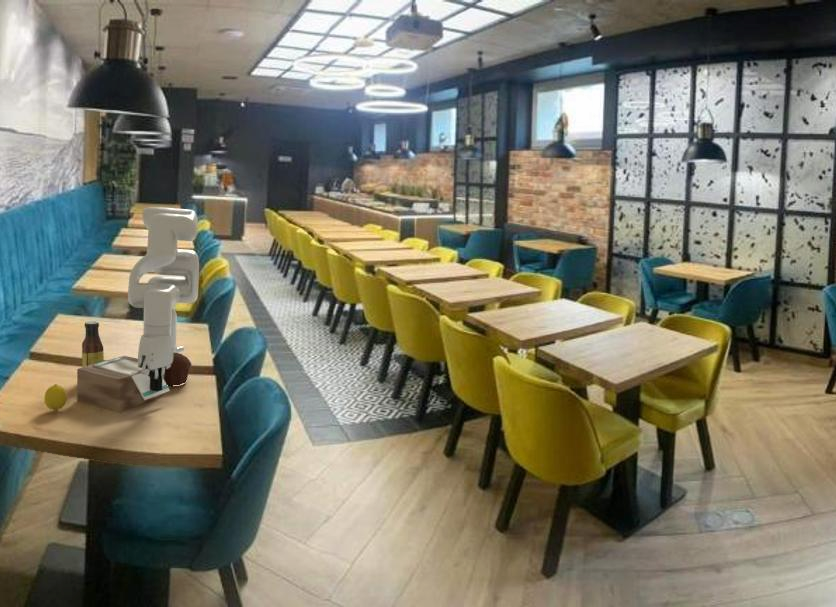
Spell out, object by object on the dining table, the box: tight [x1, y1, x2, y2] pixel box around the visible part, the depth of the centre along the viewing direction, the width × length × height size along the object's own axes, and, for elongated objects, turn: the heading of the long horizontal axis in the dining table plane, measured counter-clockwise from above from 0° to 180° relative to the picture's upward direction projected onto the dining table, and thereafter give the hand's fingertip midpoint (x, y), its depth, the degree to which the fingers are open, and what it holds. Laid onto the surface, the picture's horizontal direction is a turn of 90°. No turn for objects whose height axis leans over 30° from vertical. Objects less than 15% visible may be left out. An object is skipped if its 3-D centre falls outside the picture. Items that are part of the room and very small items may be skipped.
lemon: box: [44, 384, 68, 412], centre depth 180 cm, size 6×6×8 cm
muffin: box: [164, 352, 192, 386], centre depth 212 cm, size 12×11×10 cm
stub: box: [132, 371, 171, 400], centre depth 190 cm, size 10×8×1 cm
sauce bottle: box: [81, 320, 105, 368], centre depth 205 cm, size 7×6×20 cm
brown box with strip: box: [76, 355, 165, 413], centre depth 194 cm, size 18×16×11 cm
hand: (155, 389), depth 189 cm, fingers closed
